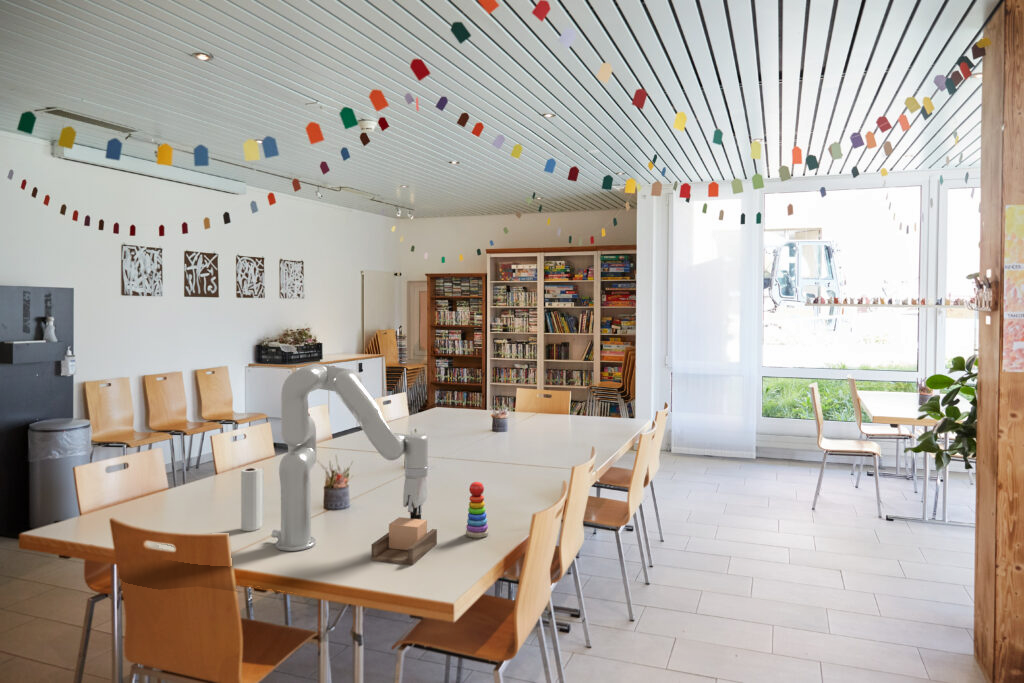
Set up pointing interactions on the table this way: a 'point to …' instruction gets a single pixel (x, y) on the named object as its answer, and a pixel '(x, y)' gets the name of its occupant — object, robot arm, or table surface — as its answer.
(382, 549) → the chute
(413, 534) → the block
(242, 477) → the paper towel roll
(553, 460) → the table surface
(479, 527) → the stacking toy
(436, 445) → the table surface
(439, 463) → the table surface
